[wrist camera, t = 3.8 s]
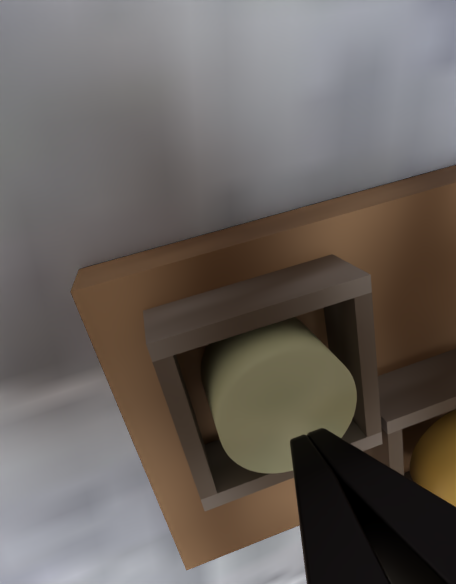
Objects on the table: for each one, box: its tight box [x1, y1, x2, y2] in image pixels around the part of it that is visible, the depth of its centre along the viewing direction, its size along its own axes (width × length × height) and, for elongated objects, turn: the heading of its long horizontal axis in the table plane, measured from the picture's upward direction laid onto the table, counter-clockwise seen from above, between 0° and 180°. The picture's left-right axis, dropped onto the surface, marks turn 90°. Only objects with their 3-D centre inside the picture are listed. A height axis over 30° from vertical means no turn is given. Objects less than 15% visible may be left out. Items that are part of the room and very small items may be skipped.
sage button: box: [201, 317, 357, 474], centre depth 11 cm, size 4×4×2 cm
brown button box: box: [71, 165, 456, 570], centre depth 14 cm, size 21×12×4 cm, turn 103°
